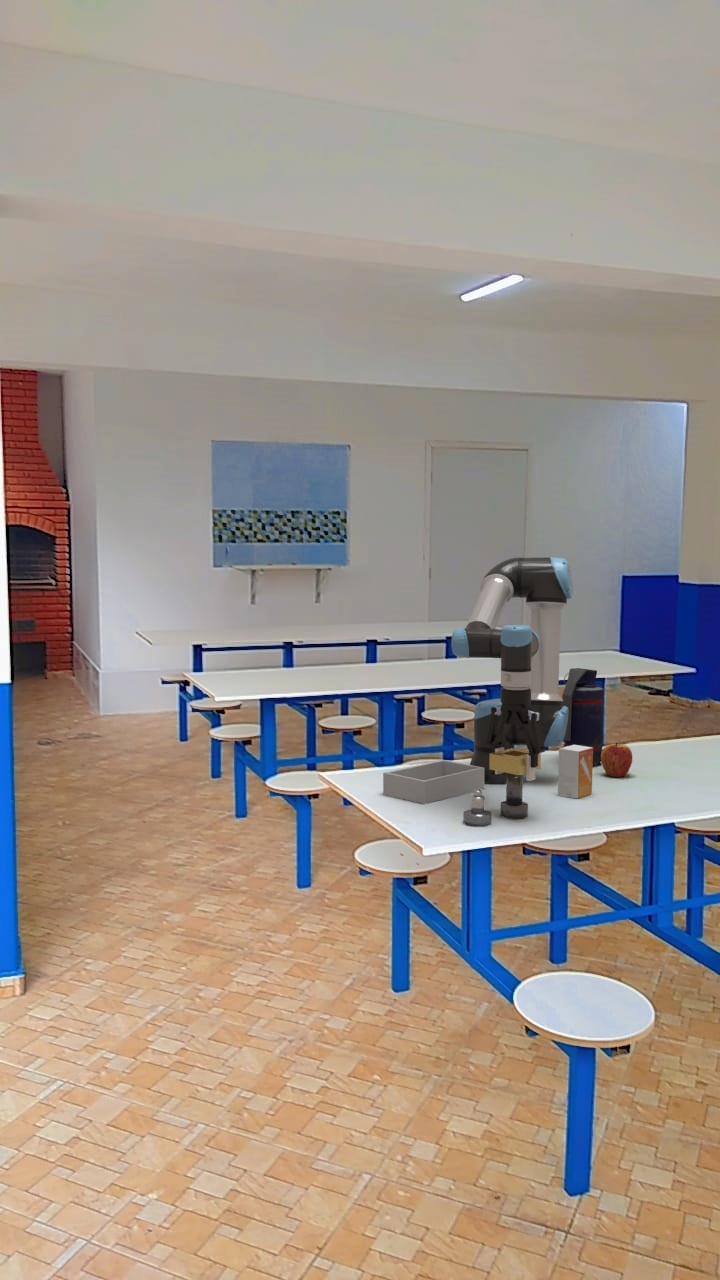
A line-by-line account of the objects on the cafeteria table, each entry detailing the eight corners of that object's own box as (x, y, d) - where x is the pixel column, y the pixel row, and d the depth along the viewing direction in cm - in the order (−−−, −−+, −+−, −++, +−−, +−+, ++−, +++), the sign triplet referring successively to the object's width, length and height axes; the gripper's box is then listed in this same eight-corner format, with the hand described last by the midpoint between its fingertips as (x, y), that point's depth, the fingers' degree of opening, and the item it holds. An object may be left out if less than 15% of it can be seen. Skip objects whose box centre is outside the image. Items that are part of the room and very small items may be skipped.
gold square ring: (489, 769, 251) (489, 753, 251) (511, 763, 258) (511, 748, 257) (518, 775, 245) (518, 759, 245) (540, 769, 251) (540, 753, 251)
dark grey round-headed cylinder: (494, 815, 252) (495, 776, 251) (511, 810, 257) (511, 772, 256) (516, 820, 247) (517, 780, 246) (533, 815, 252) (533, 776, 251)
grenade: (582, 758, 324) (584, 665, 321) (610, 764, 314) (612, 669, 311) (550, 763, 316) (552, 668, 314) (578, 769, 306) (580, 672, 304)
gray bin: (383, 794, 274) (383, 772, 274) (443, 780, 292) (443, 759, 291) (424, 804, 263) (424, 781, 263) (484, 788, 281) (484, 767, 280)
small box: (578, 799, 269) (579, 751, 268) (557, 795, 273) (558, 748, 272) (592, 794, 275) (593, 747, 274) (572, 790, 279) (572, 744, 278)
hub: (457, 822, 245) (457, 790, 244) (475, 817, 250) (475, 786, 249) (479, 828, 240) (479, 795, 240) (497, 822, 245) (497, 790, 244)
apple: (602, 778, 294) (603, 745, 293) (598, 772, 303) (599, 739, 302) (634, 779, 293) (635, 745, 292) (629, 773, 302) (630, 740, 301)
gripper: (472, 684, 254) (471, 771, 257) (543, 694, 239) (542, 786, 241) (490, 681, 260) (489, 767, 262) (561, 690, 244) (560, 781, 246)
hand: (514, 776), depth 252 cm, fingers closed on gold square ring, 9 cm apart
